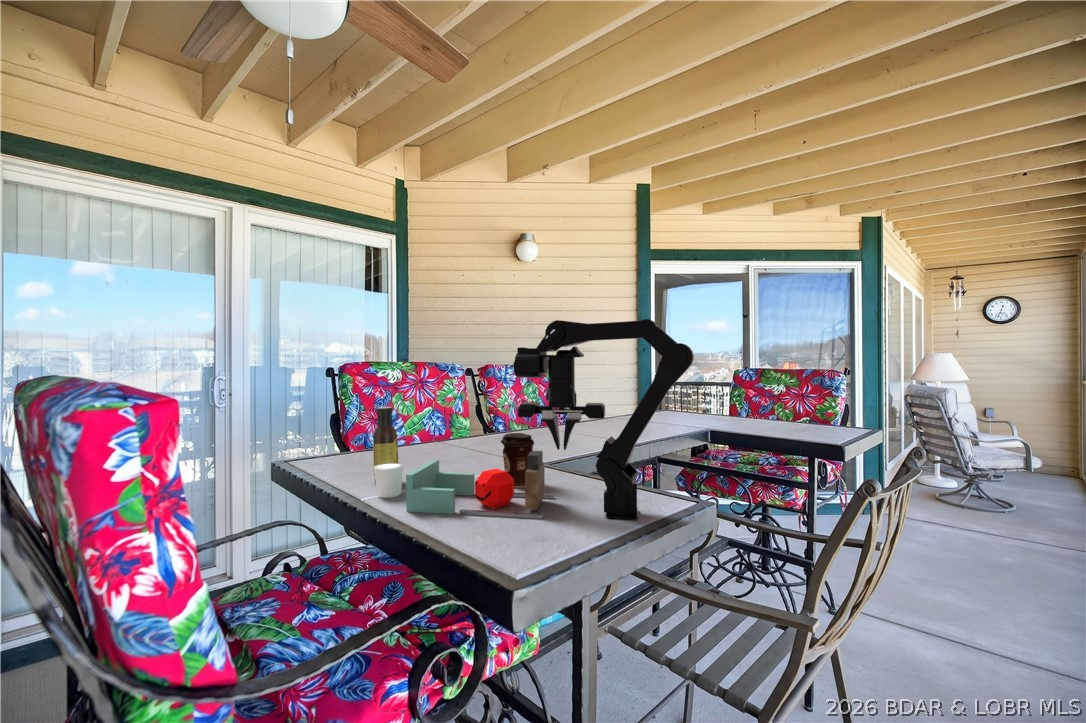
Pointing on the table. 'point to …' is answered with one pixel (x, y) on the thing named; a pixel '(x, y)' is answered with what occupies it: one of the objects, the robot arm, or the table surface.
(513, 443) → the coffee cup
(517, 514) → the track
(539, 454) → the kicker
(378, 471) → the white cup
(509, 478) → the ball
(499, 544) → the table surface
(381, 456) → the sauce bottle
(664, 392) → the robot arm
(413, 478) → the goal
